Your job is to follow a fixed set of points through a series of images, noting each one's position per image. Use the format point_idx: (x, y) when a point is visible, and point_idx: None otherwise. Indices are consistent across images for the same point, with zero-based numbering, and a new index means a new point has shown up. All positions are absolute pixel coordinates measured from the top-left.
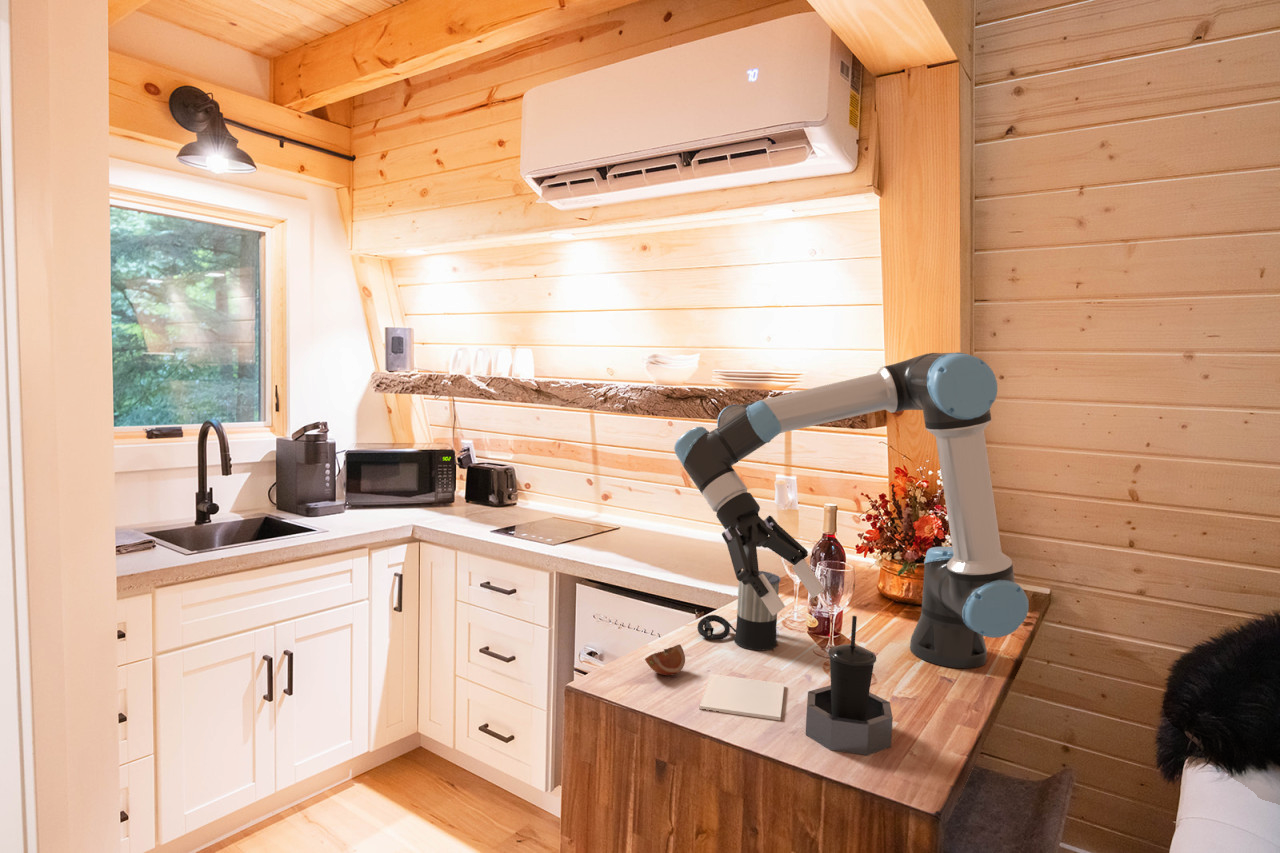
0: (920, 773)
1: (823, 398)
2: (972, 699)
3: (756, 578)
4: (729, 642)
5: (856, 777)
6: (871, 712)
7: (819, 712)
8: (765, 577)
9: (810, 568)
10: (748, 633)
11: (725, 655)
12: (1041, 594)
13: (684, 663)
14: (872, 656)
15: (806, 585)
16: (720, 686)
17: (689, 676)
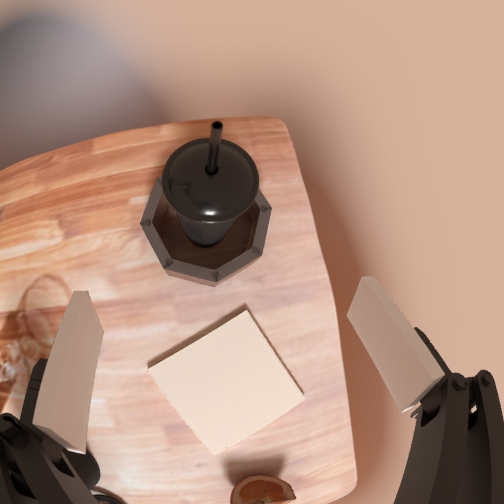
0: (229, 138)
1: None
2: (29, 172)
3: (446, 371)
4: (103, 486)
5: (288, 178)
6: (161, 210)
7: (266, 231)
8: (426, 364)
9: (29, 382)
10: (88, 473)
11: (138, 475)
12: None
13: (238, 483)
14: (198, 143)
15: (91, 366)
16: (235, 423)
17: (236, 467)
